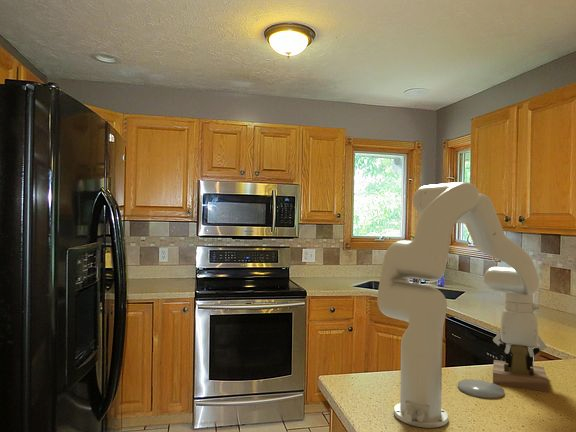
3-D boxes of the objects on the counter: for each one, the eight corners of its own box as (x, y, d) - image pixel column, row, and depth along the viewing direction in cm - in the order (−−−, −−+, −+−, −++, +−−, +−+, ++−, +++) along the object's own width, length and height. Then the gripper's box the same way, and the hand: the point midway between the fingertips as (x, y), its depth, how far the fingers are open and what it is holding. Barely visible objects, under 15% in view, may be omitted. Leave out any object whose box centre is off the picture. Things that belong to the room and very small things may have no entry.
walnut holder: (547, 392, 119) (547, 381, 119) (492, 382, 125) (492, 372, 125) (543, 376, 131) (543, 367, 131) (493, 369, 138) (493, 359, 138)
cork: (533, 384, 125) (533, 346, 125) (511, 382, 126) (511, 345, 126) (526, 377, 131) (526, 341, 131) (505, 375, 132) (505, 340, 132)
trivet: (504, 401, 111) (504, 398, 111) (455, 393, 117) (455, 390, 117) (504, 387, 122) (504, 384, 122) (459, 379, 128) (459, 376, 128)
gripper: (550, 308, 128) (550, 368, 128) (488, 302, 136) (488, 359, 136) (552, 312, 122) (552, 376, 121) (488, 306, 129) (487, 366, 129)
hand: (518, 366), depth 128 cm, fingers closed on cork, 4 cm apart
